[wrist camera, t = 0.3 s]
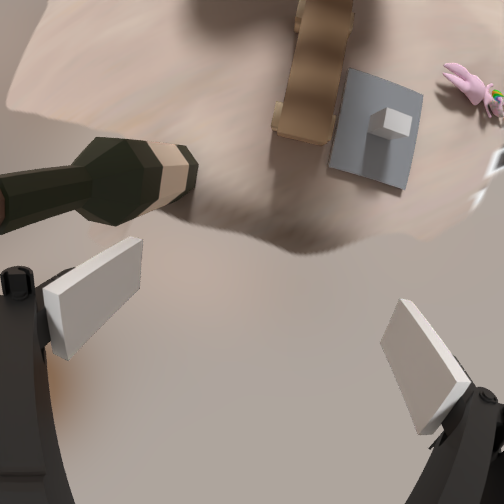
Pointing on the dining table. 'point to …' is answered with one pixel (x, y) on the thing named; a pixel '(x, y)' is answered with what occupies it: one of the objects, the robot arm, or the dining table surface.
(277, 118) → the board
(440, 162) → the dining table surface
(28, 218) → the wine bottle
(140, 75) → the dining table surface
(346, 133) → the fulcrum
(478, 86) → the rabbit figure
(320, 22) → the walnut beam
